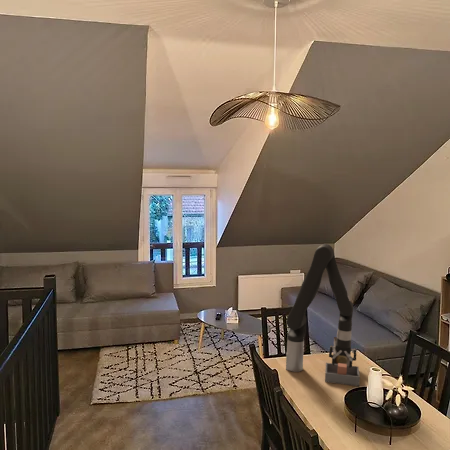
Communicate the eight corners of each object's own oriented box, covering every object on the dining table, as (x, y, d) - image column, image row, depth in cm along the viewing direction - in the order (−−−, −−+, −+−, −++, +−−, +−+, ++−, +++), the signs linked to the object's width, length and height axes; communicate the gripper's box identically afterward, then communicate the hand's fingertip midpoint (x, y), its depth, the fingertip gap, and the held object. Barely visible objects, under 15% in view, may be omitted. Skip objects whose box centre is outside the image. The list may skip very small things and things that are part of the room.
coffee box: (348, 363, 257) (349, 337, 255) (350, 368, 251) (351, 341, 249) (332, 362, 258) (333, 336, 256) (334, 367, 252) (335, 340, 250)
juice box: (337, 378, 236) (338, 366, 236) (337, 375, 241) (338, 363, 240) (346, 379, 235) (346, 367, 234) (345, 376, 240) (346, 364, 239)
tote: (324, 381, 234) (325, 373, 233) (325, 371, 247) (325, 362, 246) (359, 386, 229) (359, 377, 229) (357, 375, 242) (358, 366, 242)
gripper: (330, 338, 234) (328, 367, 236) (358, 341, 230) (355, 370, 232) (330, 333, 241) (328, 361, 243) (357, 336, 238) (354, 364, 240)
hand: (341, 365), depth 238 cm, fingers open, 8 cm apart
